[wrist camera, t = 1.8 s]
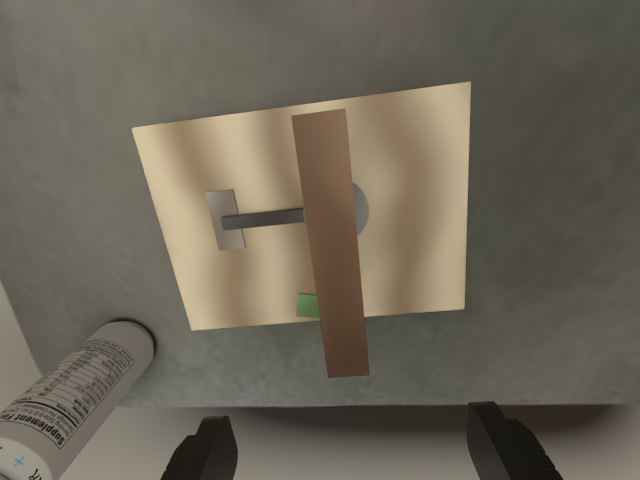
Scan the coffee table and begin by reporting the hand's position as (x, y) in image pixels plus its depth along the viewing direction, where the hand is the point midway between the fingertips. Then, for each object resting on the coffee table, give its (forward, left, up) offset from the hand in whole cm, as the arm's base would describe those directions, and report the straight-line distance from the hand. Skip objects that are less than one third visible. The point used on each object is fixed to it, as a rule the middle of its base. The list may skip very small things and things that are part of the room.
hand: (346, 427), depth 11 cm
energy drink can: (+23, +9, -19) cm, 31 cm away
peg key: (+3, -4, -14) cm, 14 cm away
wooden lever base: (+2, -3, -19) cm, 19 cm away
